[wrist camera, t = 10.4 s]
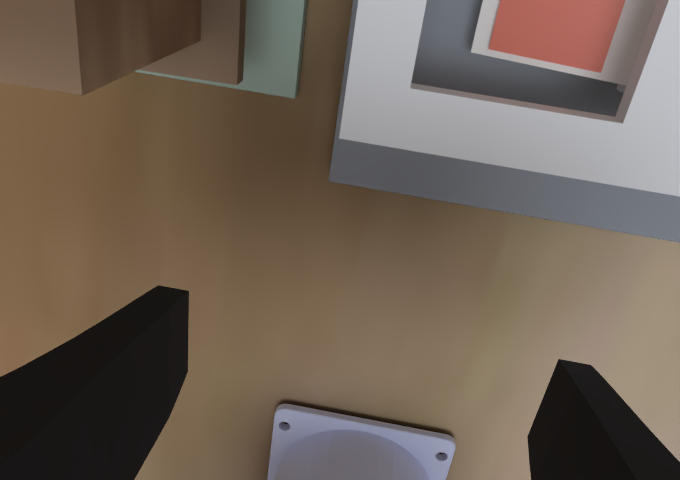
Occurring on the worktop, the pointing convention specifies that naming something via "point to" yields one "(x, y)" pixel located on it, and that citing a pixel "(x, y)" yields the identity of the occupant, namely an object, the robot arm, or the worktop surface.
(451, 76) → the breaker housing
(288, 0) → the mat
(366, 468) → the robot arm
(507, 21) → the rocker switch
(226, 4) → the brown block
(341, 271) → the worktop surface
